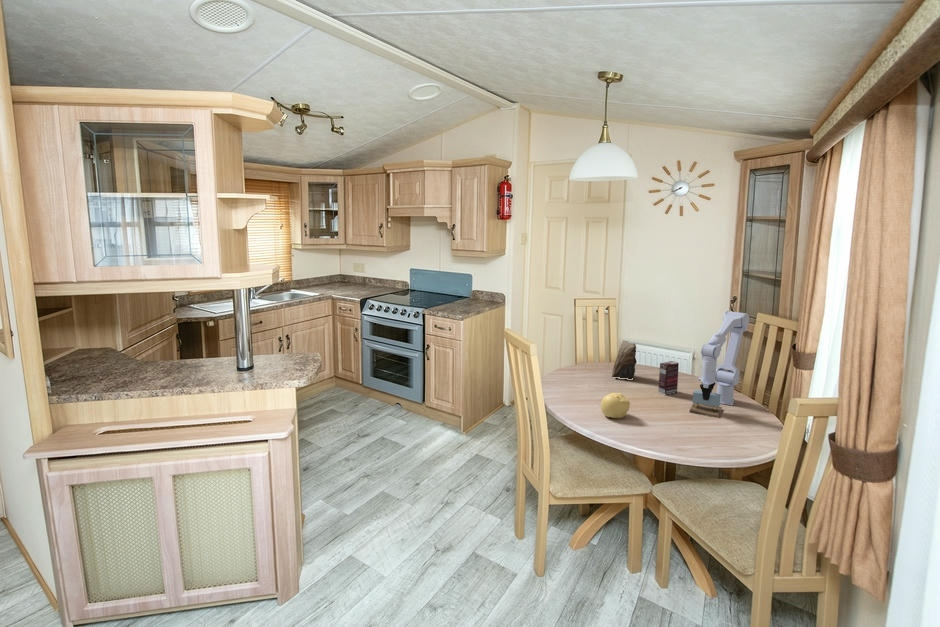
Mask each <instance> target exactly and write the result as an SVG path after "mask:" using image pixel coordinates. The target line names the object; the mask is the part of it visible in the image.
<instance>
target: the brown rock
mask: <svg viewBox="0 0 940 627" xmlns="http://www.w3.org/2000/svg"><path fill="white" fill-rule="evenodd" d="M636 353H637V345H636V343H634V342H633V343H632V342H629V341H627V340H624V339H623V340H622V342H621V344H620V346H619V349H618V353H617V355H616V357H615V361H614V363H613V368H612V372H611V373H612V374H611V378H612V377H620V378H628V379H632V378H634V377H635V373H636V368H635V367H636V364H637V358H636V356H637V355H636Z"/></svg>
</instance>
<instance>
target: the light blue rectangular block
mask: <svg viewBox="0 0 940 627" xmlns="http://www.w3.org/2000/svg"><path fill="white" fill-rule="evenodd" d="M720 396H721V394H717V392H711V394H710V397H709V400H708V401H707V400H703V395H702V390H700V389H699V390H697V389H694V390H693V392H692V402H691V403H692V404H693V403H698V404H703V405H709V406H715V407H720V404H721V403H720Z"/></svg>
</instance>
